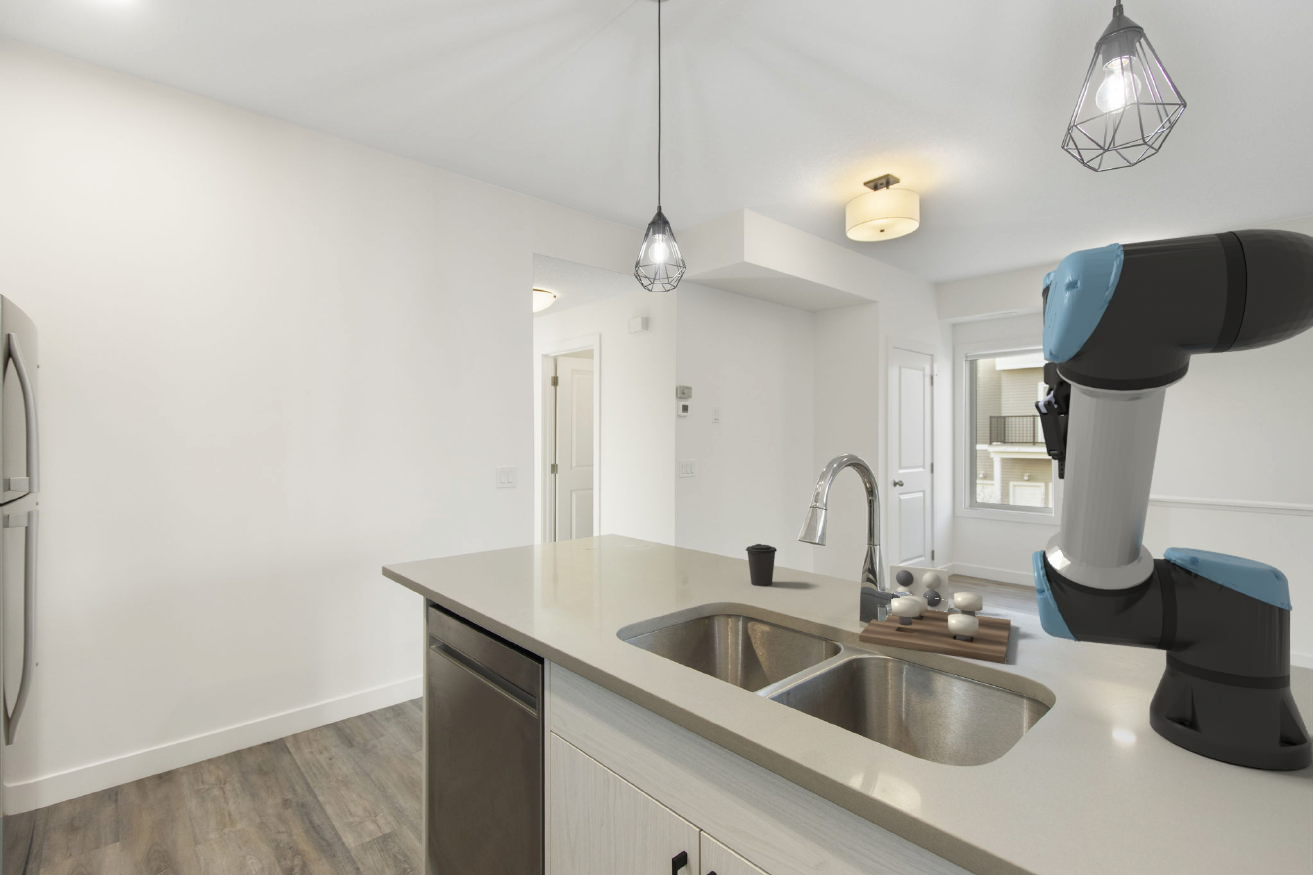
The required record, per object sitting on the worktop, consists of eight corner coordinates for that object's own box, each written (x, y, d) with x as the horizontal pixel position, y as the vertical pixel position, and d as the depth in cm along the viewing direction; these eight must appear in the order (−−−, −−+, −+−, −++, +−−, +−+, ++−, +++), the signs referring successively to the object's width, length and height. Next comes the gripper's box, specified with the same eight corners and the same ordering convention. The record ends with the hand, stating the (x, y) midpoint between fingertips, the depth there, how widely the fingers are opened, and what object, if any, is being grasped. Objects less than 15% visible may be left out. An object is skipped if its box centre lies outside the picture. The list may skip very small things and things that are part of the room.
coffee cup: (760, 578, 170) (759, 541, 170) (783, 583, 164) (783, 545, 164) (739, 583, 165) (738, 545, 165) (763, 589, 159) (762, 549, 159)
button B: (917, 629, 118) (917, 605, 118) (889, 625, 120) (888, 602, 120) (921, 622, 122) (921, 599, 122) (894, 618, 124) (894, 596, 124)
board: (1005, 663, 106) (1005, 656, 106) (859, 640, 119) (859, 634, 119) (1010, 625, 127) (1010, 619, 127) (885, 609, 139) (885, 604, 139)
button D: (925, 624, 126) (925, 602, 126) (899, 621, 129) (898, 599, 129) (929, 618, 130) (929, 597, 130) (903, 615, 133) (903, 594, 133)
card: (947, 612, 137) (947, 570, 137) (889, 605, 143) (889, 565, 143) (950, 607, 140) (949, 567, 140) (893, 600, 146) (893, 561, 146)
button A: (977, 648, 112) (977, 623, 112) (946, 643, 115) (946, 619, 115) (979, 640, 117) (979, 616, 117) (950, 635, 119) (949, 612, 119)
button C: (981, 622, 121) (981, 600, 121) (953, 619, 124) (952, 596, 124) (983, 616, 125) (983, 594, 125) (955, 612, 128) (955, 591, 128)
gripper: (1078, 364, 114) (1079, 495, 113) (1020, 362, 110) (1021, 498, 110) (1119, 359, 107) (1120, 499, 106) (1059, 356, 103) (1060, 501, 103)
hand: (1070, 498), depth 108 cm, fingers closed
